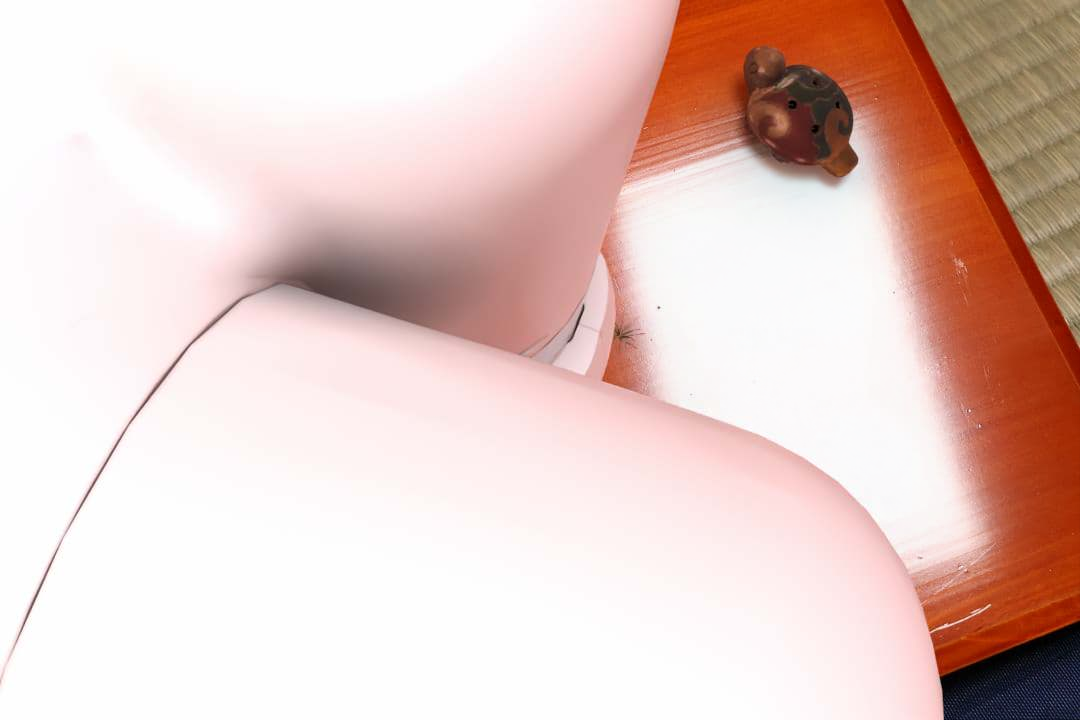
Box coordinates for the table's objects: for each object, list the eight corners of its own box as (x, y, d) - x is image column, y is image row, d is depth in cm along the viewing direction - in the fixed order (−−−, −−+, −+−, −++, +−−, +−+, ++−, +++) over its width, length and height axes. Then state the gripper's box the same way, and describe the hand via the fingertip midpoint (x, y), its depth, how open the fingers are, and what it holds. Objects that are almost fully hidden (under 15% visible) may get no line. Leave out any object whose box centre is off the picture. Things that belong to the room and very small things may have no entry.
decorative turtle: (752, 57, 91) (783, 11, 83) (863, 151, 90) (905, 113, 82) (697, 117, 88) (723, 75, 81) (810, 214, 88) (848, 181, 80)
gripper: (52, 270, 20) (264, 405, 38) (694, 524, 19) (600, 539, 37) (199, 3, 21) (336, 254, 39) (795, 230, 21) (658, 380, 39)
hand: (464, 392), depth 38 cm, fingers closed
